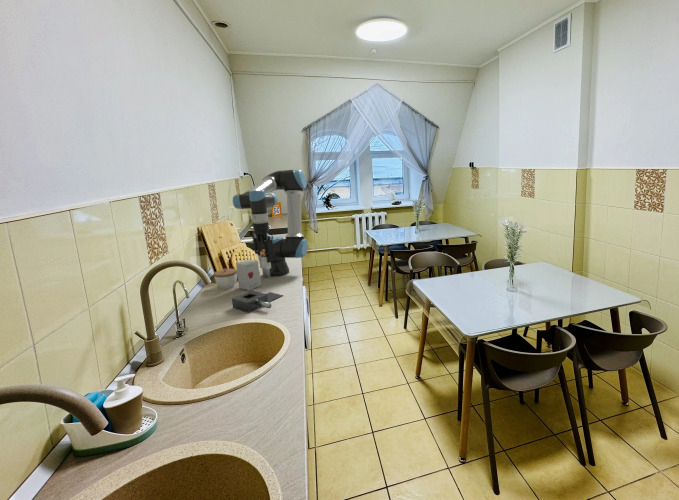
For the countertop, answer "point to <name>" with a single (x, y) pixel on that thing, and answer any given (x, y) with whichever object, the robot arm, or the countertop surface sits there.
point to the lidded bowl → (226, 278)
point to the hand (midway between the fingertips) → (265, 268)
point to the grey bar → (264, 265)
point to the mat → (273, 296)
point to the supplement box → (248, 274)
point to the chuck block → (250, 301)
